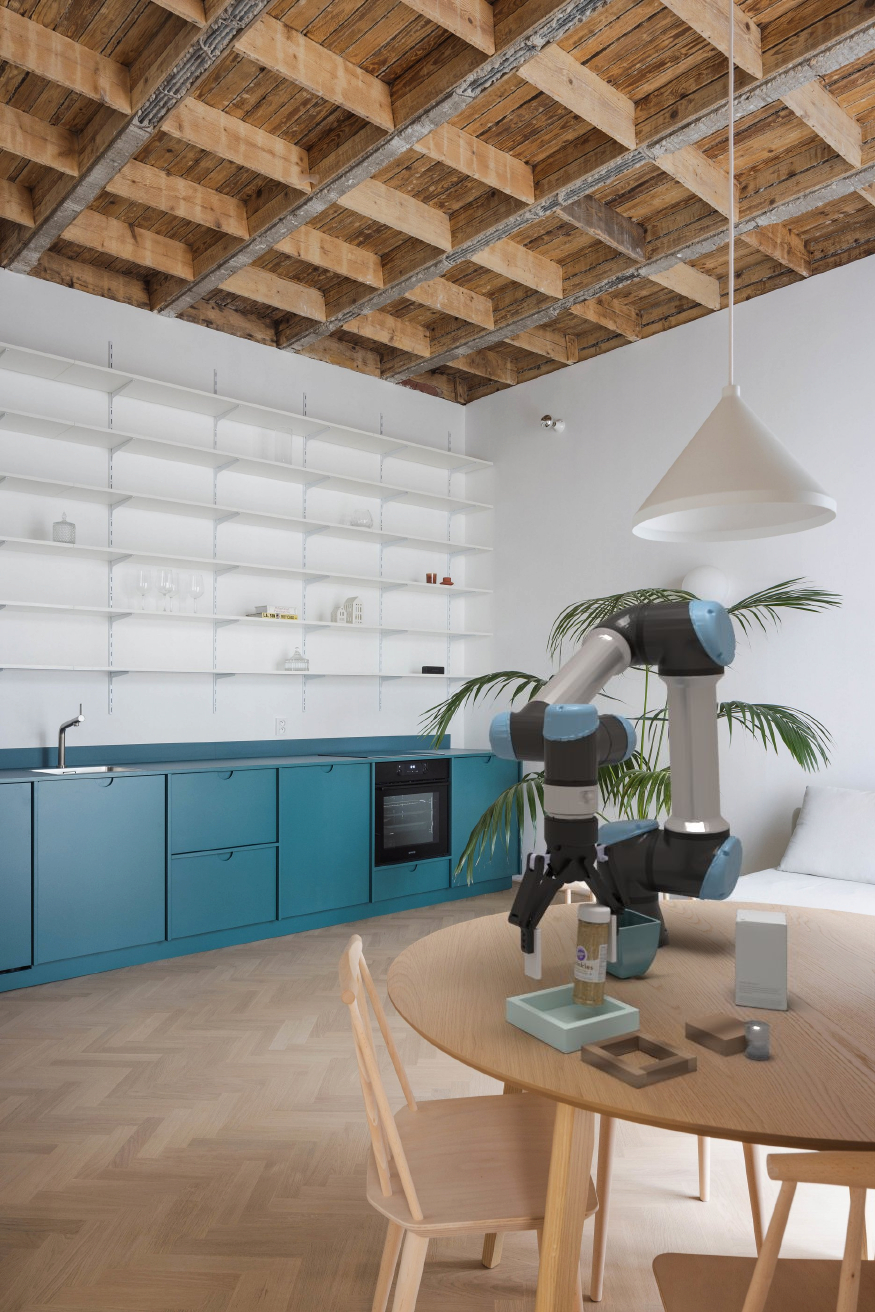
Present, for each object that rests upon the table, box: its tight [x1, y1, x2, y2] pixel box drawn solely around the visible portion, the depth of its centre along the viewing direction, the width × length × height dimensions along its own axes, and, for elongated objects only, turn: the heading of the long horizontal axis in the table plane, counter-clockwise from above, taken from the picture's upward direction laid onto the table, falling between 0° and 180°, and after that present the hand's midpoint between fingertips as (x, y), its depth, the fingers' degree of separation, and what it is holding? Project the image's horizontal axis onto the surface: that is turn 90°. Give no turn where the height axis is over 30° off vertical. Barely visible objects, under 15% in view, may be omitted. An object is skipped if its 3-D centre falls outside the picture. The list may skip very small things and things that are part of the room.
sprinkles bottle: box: [572, 902, 610, 1007], centre depth 128 cm, size 5×5×13 cm
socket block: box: [580, 1029, 698, 1089], centre depth 113 cm, size 10×10×2 cm
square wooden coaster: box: [684, 1012, 746, 1058], centre depth 121 cm, size 7×7×2 cm
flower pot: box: [606, 909, 661, 979], centre depth 148 cm, size 9×9×9 cm
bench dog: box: [744, 1019, 771, 1062], centre depth 116 cm, size 3×3×4 cm
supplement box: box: [734, 909, 788, 1012], centre depth 136 cm, size 7×7×13 cm
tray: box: [505, 982, 640, 1055], centre depth 126 cm, size 13×13×3 cm
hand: (571, 968), depth 126 cm, fingers open, 13 cm apart
